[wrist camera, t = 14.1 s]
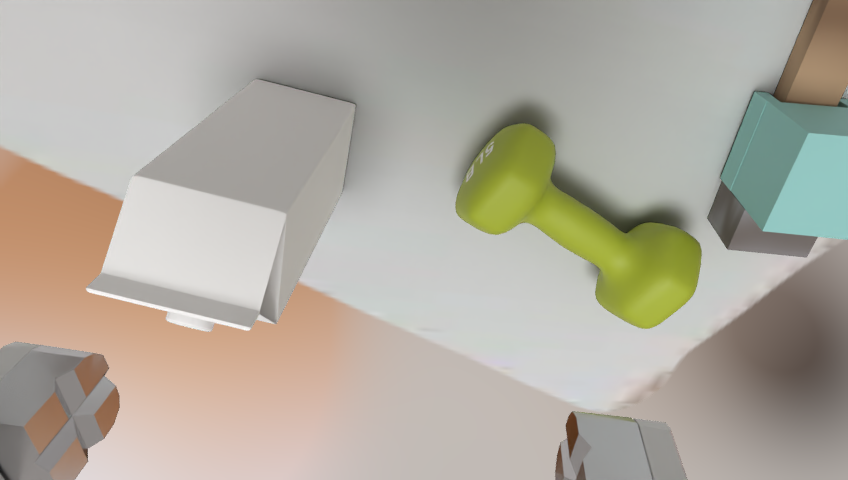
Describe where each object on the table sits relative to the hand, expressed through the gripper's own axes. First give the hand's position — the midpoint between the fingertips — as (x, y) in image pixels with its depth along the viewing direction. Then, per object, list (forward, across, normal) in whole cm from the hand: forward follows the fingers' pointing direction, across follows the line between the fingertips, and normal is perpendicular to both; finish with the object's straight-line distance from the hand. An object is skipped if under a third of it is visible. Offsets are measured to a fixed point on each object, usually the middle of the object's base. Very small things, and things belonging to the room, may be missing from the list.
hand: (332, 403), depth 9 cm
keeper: (+29, -22, +5) cm, 37 cm away
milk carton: (+29, +10, +8) cm, 32 cm away
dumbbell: (+30, -10, +11) cm, 33 cm away
